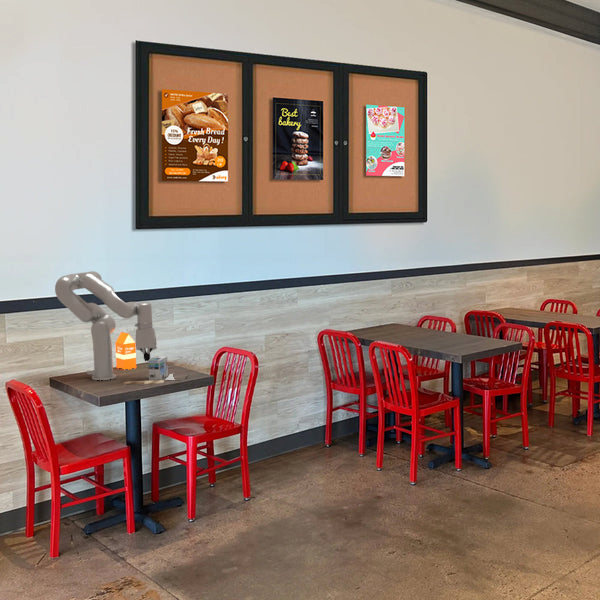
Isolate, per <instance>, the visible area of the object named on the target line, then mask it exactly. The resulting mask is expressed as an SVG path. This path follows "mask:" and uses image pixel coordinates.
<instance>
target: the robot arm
mask: <svg viewBox="0 0 600 600" xmlns="http://www.w3.org/2000/svg"><path fill="white" fill-rule="evenodd" d="M102 279H103V278H102V276H101V274H100V273H99V272H97V271H92V270H91V271H86V272H78V273H71V274H70V273H69V274H66V275H63V276H61V277H59V278H58V280H57V281H56V283H55V284H54V285H55V286H54V293H55V295H56V297H57V299H58V300H59V302H60V303H61V304H62V305H64V307H66V308H67V309H68V311H70V312H71V313H72V314H73V315H74V316H75V317H76V318H78V319H79V320H80V321H81V322H83V323H86V324H87V323H91V327H90V334H91V338H92V339H91V340H92V348H93V350H92V352H93V368H94V369H93V370H86V374H87V375H88V376H89V375H91V380H93V381H97V380H100V381H101V380H103V381H110V379H111V380H114V379H116V378H117V374H115V373H114V366H113V365H114V364H113V363H114V362H113V361H114V360H113V345H112V337H111V334H112V333H113V332H114V331H115V330H116V327H117V326H116V324H117V323H116V321H115V320H114V318H113V317H112V316H111V315H110V314H108V312H107V311H105V310H104V309H103V308H102V307H101V306H100V305H98V304H97V303H94V302H86V301H85V300H84V299H83V298H82V297H81V296H80V295H78V294H76V293H75V292H74V291H75V290H81V289H86V290H87V291H89V292H90V293H91V294H93V295H94V296H95V297H97V298H98V299H100V300H101V301H102V302H103V303H104V304H105V305H106V307H108V309H110V310H111V311H112V312H113V313H114V314H116V315H118V316H119V317H120V318H122V319H123V318H124V319H131V318H132V317H135V316H136V317H137V323H135V324H134V327H135V328H136V327H137V328H136V330H135V349H136V351H140V353H141V352H142V354H143V360H144V361H145V362H148V360H149V359H151V353H152V352H153V351H155V350H157V349H158V347H157V336H156V332H155V328H154V327H153V326H154V325H153V313H152V312H153V311H152V303H151V302H148V301H144V302H136V301H128V302H125V301H124V300H122V299H121V298H119V297H118V295H117V294H116V293H115V289H114V287H113V286H111V285H110V284H108V283H107V282H106V281H104V280H102ZM146 349H147V350H146ZM101 382H102V381H101Z"/></svg>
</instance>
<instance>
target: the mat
mask: <svg viewBox="0 0 600 600" xmlns="http://www.w3.org/2000/svg"><path fill="white" fill-rule="evenodd" d="M173 374H174V373H170V374H168V376H167V377H166V378H164V380H175V379H174V377H173Z"/></svg>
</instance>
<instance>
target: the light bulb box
mask: <svg viewBox="0 0 600 600" xmlns="http://www.w3.org/2000/svg"><path fill="white" fill-rule="evenodd" d="M147 362H148V363H147V364H148V381H150V380H165V379H166V378H167V377H168V376H169V374H168V372H169V370H168V356H164V355H163V356H160V355H158V356H157V355H156V356H153V357H150V359H149V360H148V361H147ZM165 377H166V378H165Z"/></svg>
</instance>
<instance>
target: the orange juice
mask: <svg viewBox="0 0 600 600" xmlns="http://www.w3.org/2000/svg"><path fill="white" fill-rule="evenodd" d="M136 351H137V350H136V340H134V339H133V338H132V336H131V335H130V333H127V332H123V331H120V334H119V335H118V337H117V339H116V341H115V360H116V361H115V362H116V364H115V365H116V366H115V367H116V369H119V368H122V369H124V370H123V371H126V370H125V369H128V370H133V369H132V368H134V369H137V353H136ZM122 369H121V370H122Z"/></svg>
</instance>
